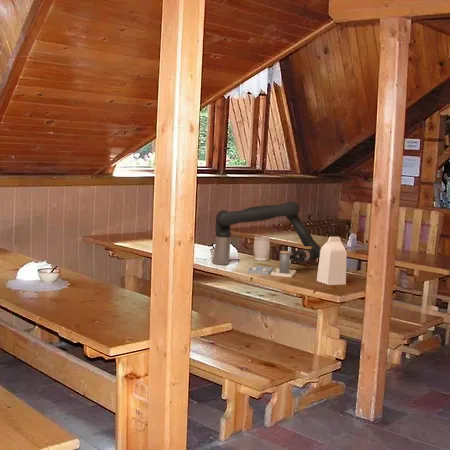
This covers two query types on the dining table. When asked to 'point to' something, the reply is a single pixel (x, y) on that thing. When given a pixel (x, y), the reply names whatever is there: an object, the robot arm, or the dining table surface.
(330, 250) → the milk
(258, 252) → the jar
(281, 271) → the canister
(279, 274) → the tray
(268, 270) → the tray
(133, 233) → the dining table surface
